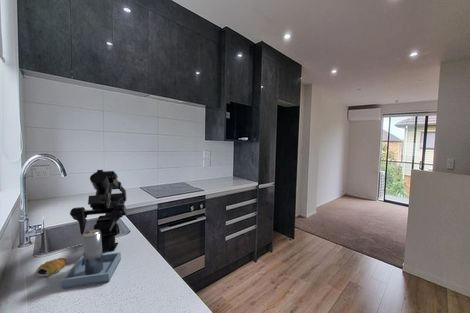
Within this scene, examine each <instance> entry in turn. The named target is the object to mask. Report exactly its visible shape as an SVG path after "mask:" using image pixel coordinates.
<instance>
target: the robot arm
mask: <svg viewBox="0 0 470 313" xmlns="http://www.w3.org/2000/svg"><path fill="white" fill-rule="evenodd" d="M118 178H119V177H118V174H117V173H116V172H115V171H114V170H106V171H104V169H97V170H96V172H94V173H93V174H91V175H90V177H89V180H90V182H91V184H92V186H93V188H94V190H95V191H96V192H95V194H94V195H88V199H87V200H88V201H87V205H89V207H90V209H85V207H84V206H79V207H73V208H72V209H70V212H69V215H70V216H71V217H72V219H73V220H74V221H77V222H78V226H79V231H80V235H83V234H84V233H85V228H86V224H87V221H88V219H87V218H88V216H93V215H99V216H98V217H97V220H96V222H95V224H94V225H93V230H100V231H101V239H102V253H103V252H105V253H106V252H113V251H115V250H116V248H117V247H118V245H119V242H116V236H118V235H119V234H121V232H120V231H121V229H120V225H119V223H118V221H119V220H120V219H121V218H123V217H124V216H127V212H128V210H127V208H126V204H125V203H126V202H127V199H128V198H127V197H128V196H127V190H126V189H125V188H124V186H122V182H121V181H119V180H118ZM114 190H119V192H117V193H112V192H113V191H114Z"/></svg>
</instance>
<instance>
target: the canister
mask: <svg viewBox="0 0 470 313" xmlns="http://www.w3.org/2000/svg"><path fill="white" fill-rule="evenodd" d="M82 248H83V250H82V251H83V257H84V264H85V274H86V275H93V274H98V273H100V272H101V271H102V270H103V254H104V253H103V252H102V239H101V231H100V230H94V229H90V230H88V231H84V233H83V234H82Z"/></svg>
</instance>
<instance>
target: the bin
mask: <svg viewBox="0 0 470 313" xmlns="http://www.w3.org/2000/svg"><path fill="white" fill-rule="evenodd" d="M102 254H103V270H102V271H101V272H100V273H98V274H93V275H86V274H85V264H84V256H81V257H80V258H79V259H78V260H77V261H76V263H74V265H72V267H71V268H70V269H69V270H68V271H67V272H66V274H65V275H64V276H63V277H62V278H61V279H60V280H61V281H60V282H61V289H69V288H78V287H83V286H90V285H98V284H104V283H110V281H111V279H112V278H113V276H114V274H115V271H116V270H117V267H118V266H119V264H120V261H121V259H122V256H121V252H111V253H102Z"/></svg>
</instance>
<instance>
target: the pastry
mask: <svg viewBox="0 0 470 313" xmlns="http://www.w3.org/2000/svg"><path fill="white" fill-rule="evenodd" d="M67 263H68V260H67V258H64V257H58V258H55V259H52V260H48V261H45V262H44V263H43V264H40V265H39V266H38V267H37V269H36V270H35V272H34V275H36V276H37V277H38V278H40V277H50V276H52V275H53V276H54V275H55V274H56V273H57V272H60V271H61V270H62V269H63V268H64V267H65V266H66V265H67Z"/></svg>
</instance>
